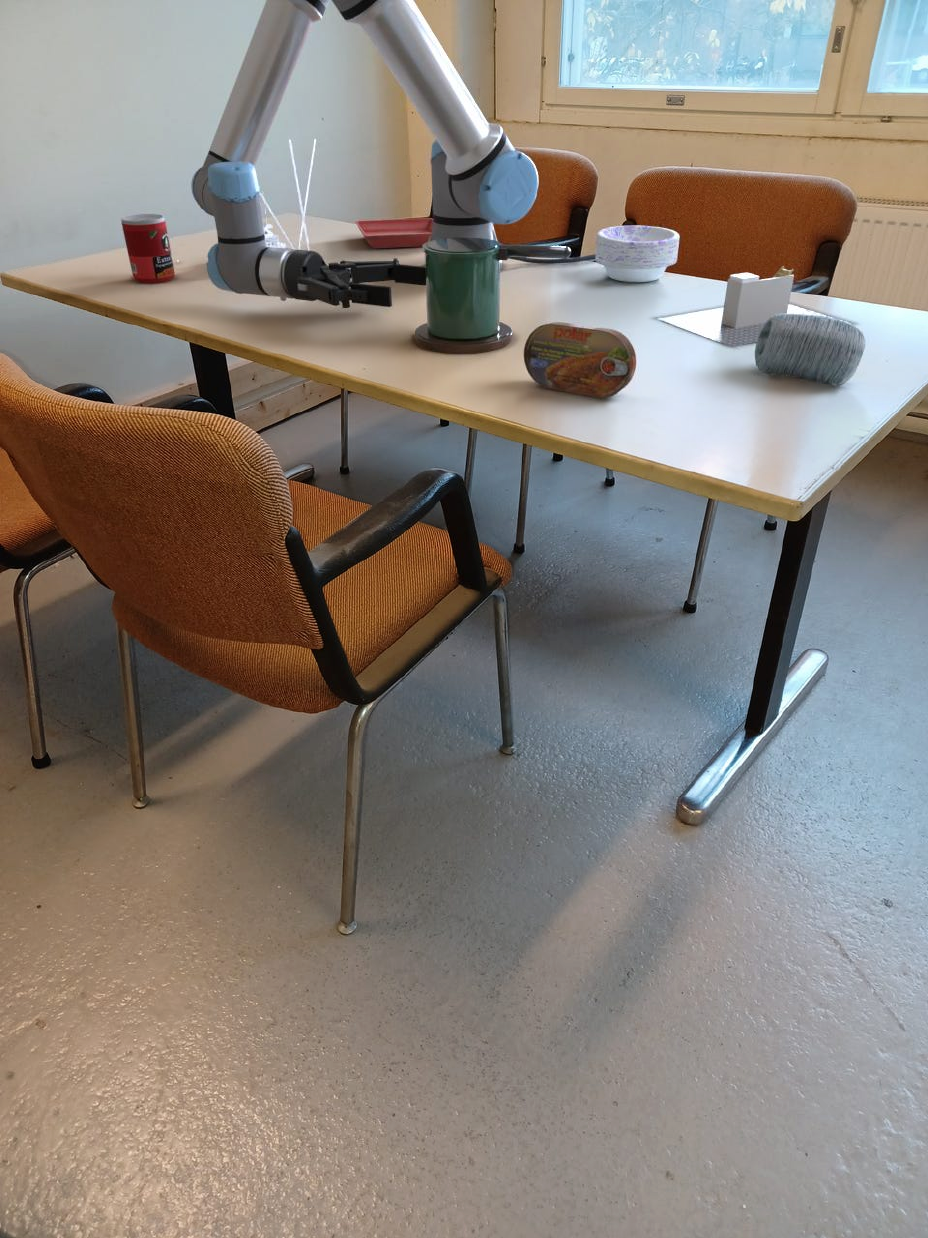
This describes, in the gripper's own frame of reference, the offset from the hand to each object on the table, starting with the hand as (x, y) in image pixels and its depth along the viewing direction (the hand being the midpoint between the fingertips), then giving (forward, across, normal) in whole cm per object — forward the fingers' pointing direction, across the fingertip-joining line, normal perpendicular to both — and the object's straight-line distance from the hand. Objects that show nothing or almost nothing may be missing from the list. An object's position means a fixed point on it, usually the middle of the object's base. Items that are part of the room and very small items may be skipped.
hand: (412, 286), depth 135 cm
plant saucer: (-36, -62, -7) cm, 72 cm away
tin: (+32, +15, -7) cm, 36 cm away
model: (+48, -27, -7) cm, 55 cm away
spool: (+58, -1, -7) cm, 59 cm away
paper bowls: (+22, -49, -7) cm, 54 cm away
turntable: (+9, 0, -7) cm, 11 cm away
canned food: (-63, -13, -7) cm, 65 cm away
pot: (+13, -1, -6) cm, 15 cm away
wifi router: (-55, -35, -7) cm, 66 cm away
